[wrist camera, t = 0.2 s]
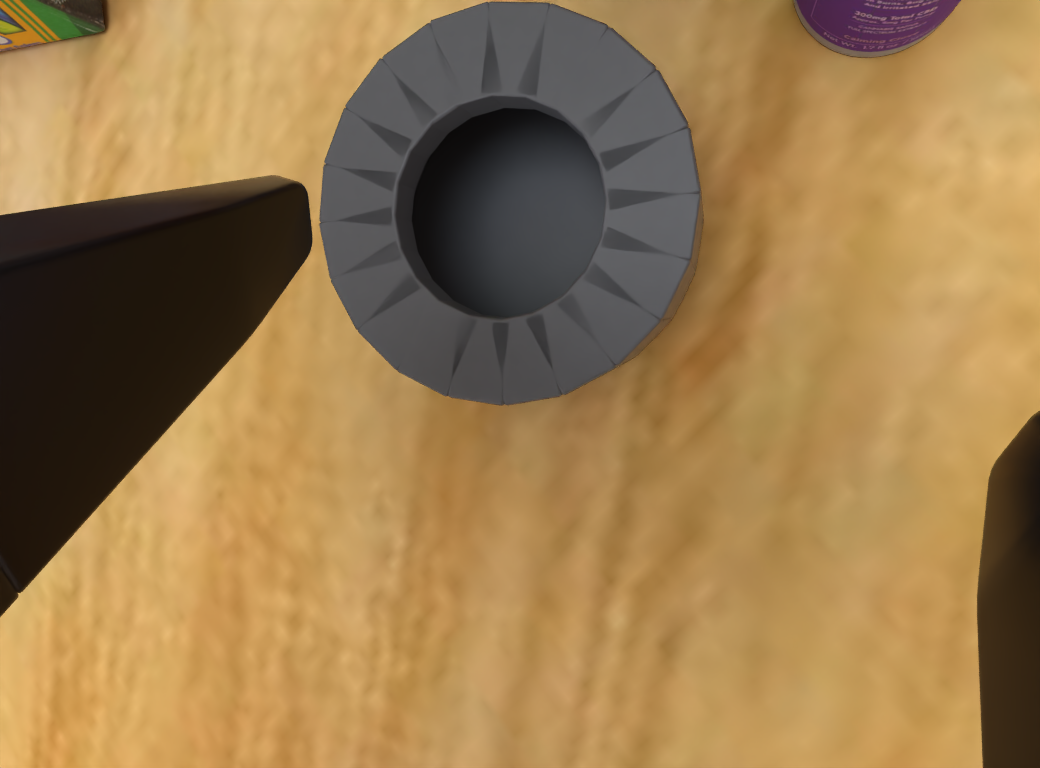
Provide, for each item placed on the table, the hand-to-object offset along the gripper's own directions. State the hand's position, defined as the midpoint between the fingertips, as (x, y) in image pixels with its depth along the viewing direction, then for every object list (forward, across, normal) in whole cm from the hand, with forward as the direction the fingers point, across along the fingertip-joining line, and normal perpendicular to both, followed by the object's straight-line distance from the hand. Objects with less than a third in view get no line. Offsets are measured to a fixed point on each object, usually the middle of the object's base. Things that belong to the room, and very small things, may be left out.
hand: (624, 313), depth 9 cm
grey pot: (+13, +5, +7) cm, 16 cm away
